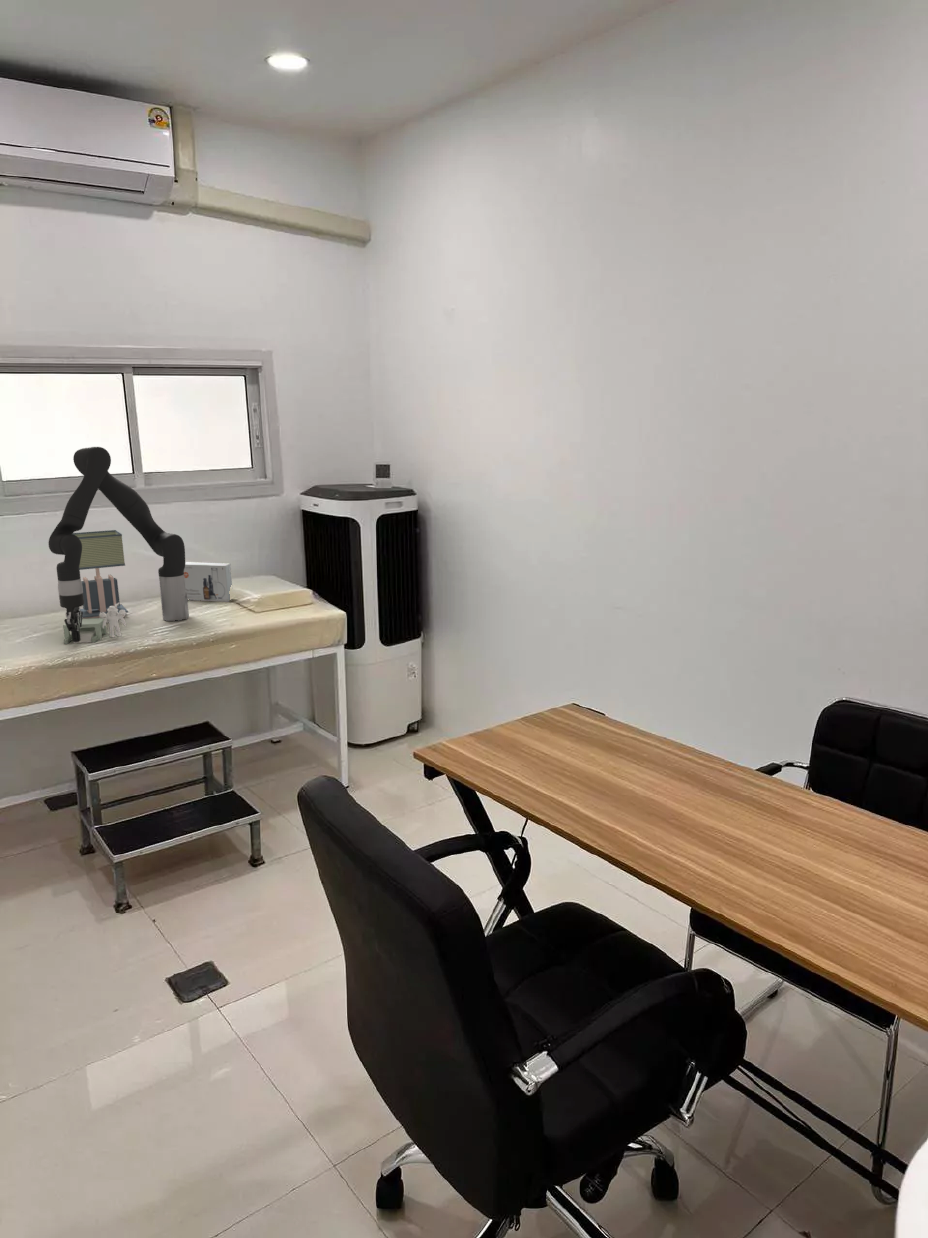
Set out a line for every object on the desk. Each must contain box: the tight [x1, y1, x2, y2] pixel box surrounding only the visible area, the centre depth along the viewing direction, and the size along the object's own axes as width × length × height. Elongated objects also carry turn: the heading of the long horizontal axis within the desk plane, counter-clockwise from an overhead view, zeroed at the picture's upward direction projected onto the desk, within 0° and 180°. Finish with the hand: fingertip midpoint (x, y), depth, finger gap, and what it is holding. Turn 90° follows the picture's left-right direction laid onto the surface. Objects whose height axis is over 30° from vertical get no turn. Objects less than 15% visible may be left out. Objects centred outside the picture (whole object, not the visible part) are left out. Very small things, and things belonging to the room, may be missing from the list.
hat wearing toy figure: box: [99, 601, 127, 638], centre depth 294 cm, size 9×4×12 cm, turn 122°
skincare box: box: [184, 561, 233, 603], centre depth 350 cm, size 21×6×16 cm, turn 80°
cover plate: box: [72, 628, 96, 644], centre depth 292 cm, size 6×10×3 cm, turn 8°
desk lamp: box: [72, 529, 129, 619], centre depth 320 cm, size 18×14×33 cm
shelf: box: [62, 618, 108, 645], centre depth 292 cm, size 12×13×6 cm
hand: (76, 641), depth 284 cm, fingers closed
